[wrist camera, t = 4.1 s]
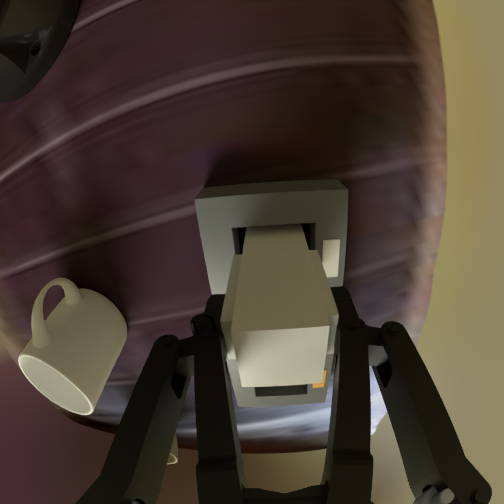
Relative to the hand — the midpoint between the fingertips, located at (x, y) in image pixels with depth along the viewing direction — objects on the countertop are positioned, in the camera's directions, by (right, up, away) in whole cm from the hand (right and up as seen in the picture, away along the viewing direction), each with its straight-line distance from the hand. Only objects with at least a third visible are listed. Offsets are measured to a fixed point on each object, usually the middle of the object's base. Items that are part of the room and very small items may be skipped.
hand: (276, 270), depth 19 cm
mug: (-19, -4, +8) cm, 21 cm away
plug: (0, +2, +4) cm, 4 cm away
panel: (+1, -4, +7) cm, 8 cm away
